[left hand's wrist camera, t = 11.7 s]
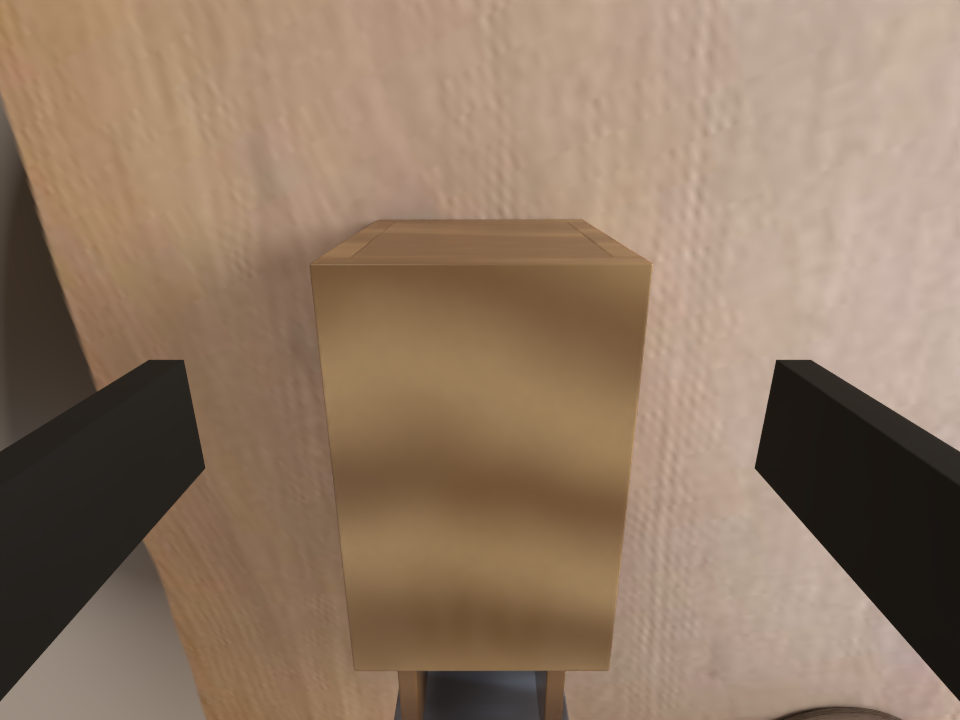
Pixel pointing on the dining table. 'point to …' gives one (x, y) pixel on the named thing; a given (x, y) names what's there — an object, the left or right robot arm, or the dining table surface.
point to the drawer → (481, 695)
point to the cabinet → (481, 438)
